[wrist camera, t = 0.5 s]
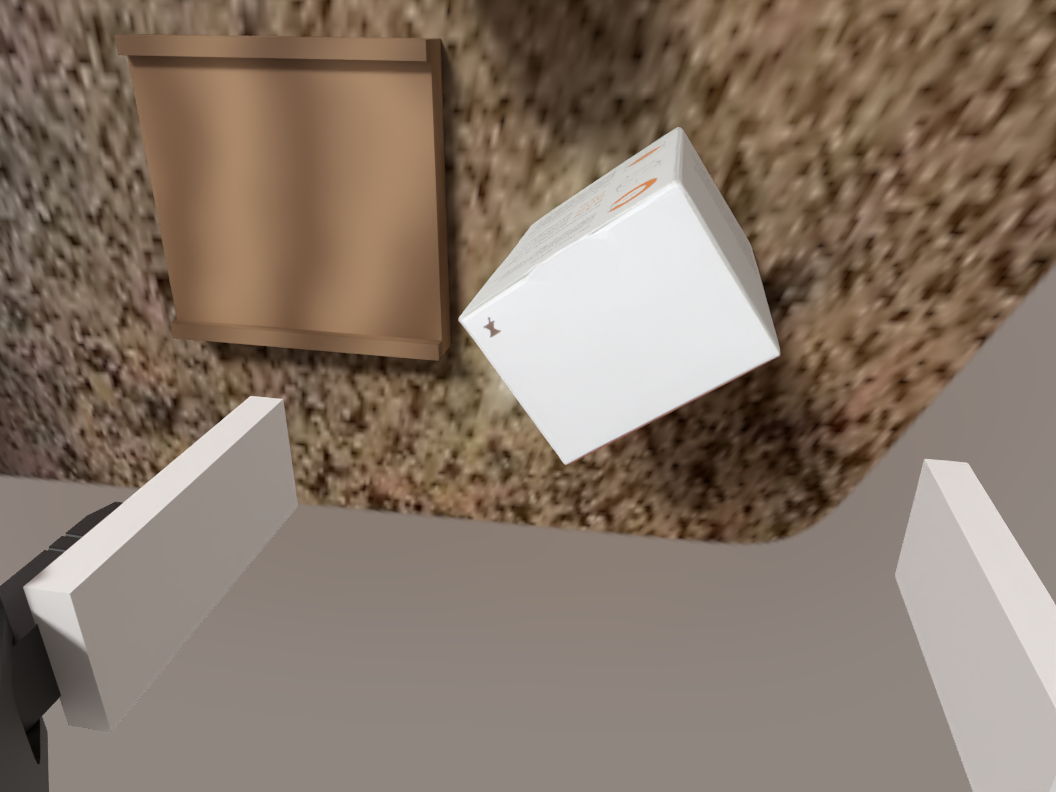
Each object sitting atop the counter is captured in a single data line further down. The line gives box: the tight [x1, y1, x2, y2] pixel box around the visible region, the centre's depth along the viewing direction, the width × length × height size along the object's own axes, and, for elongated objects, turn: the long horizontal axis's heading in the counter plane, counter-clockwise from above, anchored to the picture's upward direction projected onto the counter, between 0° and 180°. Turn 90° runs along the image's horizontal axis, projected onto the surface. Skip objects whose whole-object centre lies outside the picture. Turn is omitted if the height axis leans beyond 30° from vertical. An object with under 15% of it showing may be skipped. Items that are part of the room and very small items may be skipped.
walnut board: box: [115, 34, 451, 361], centre depth 37 cm, size 14×14×2 cm
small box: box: [459, 127, 780, 465], centre depth 30 cm, size 8×6×13 cm
